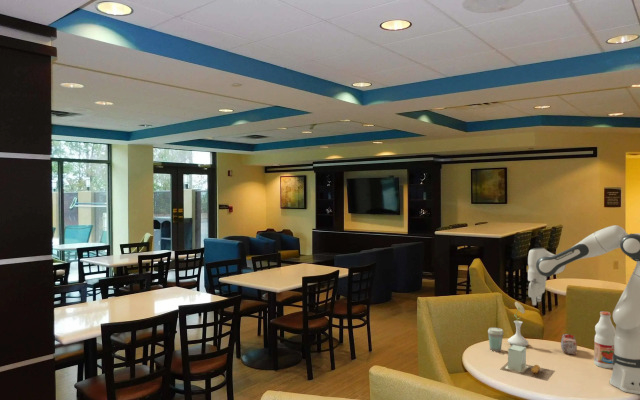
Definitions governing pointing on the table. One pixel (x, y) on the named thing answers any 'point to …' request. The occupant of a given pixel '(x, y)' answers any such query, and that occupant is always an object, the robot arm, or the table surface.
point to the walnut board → (542, 373)
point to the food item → (569, 344)
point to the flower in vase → (518, 329)
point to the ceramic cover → (517, 357)
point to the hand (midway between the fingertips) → (536, 303)
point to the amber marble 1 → (534, 370)
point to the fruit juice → (604, 341)
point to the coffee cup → (495, 339)
